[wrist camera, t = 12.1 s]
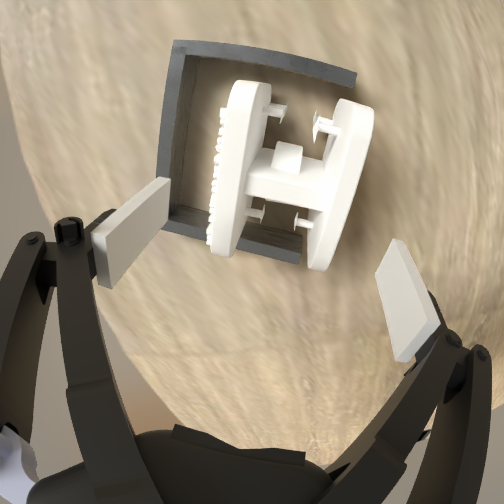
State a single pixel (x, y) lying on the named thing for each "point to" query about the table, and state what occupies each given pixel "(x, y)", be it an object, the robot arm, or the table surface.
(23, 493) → the robot arm
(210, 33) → the table surface
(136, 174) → the table surface
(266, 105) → the cable organizer
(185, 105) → the bracket
